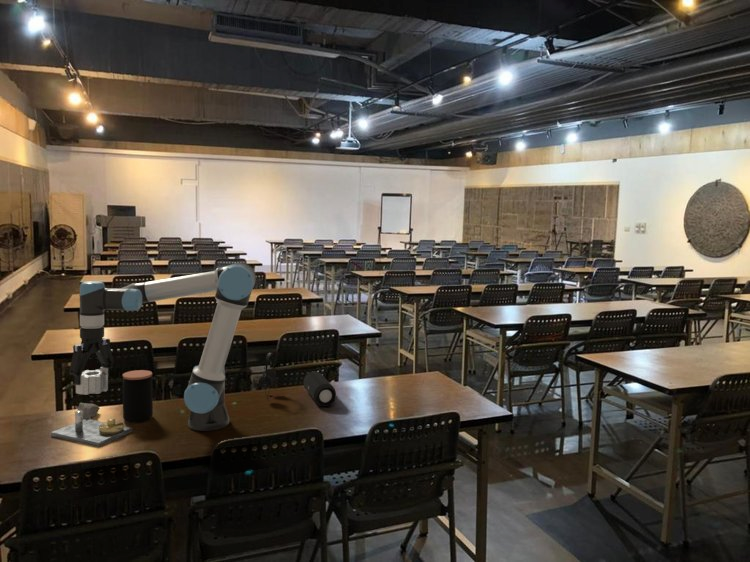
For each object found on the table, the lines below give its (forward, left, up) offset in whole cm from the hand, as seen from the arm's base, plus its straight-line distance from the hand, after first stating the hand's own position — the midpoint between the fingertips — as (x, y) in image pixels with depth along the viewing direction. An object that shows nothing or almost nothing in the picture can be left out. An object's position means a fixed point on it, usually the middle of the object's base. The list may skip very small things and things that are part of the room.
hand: (92, 389), depth 194 cm
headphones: (-31, -69, -18) cm, 78 cm away
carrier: (+5, -4, -18) cm, 19 cm away
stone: (+20, -16, -19) cm, 32 cm away
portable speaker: (-51, -76, -19) cm, 93 cm away
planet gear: (0, 0, 0) cm, 0 cm away
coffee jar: (+2, -23, -18) cm, 29 cm away
